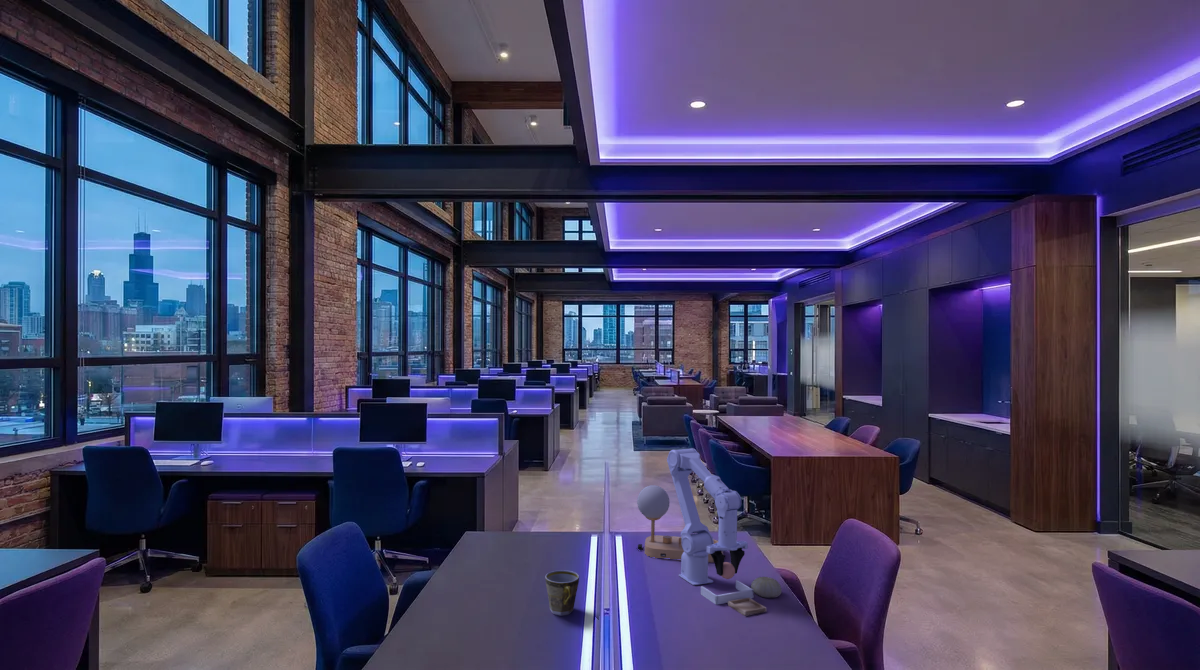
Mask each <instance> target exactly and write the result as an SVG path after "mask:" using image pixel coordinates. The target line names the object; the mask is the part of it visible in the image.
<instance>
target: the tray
mask: <svg viewBox="0 0 1200 670" xmlns="http://www.w3.org/2000/svg"><path fill="white" fill-rule="evenodd" d="M727 607H730V608H732V609H733V610H735V611H736V612H737V613H739V614H741V615H742V616H744V617H748V616H752V615H757V614H762V613H763V614H764V613H767V607H766V606H765V605H763V604H761V603H760V602H757V601H756V600H754V598H744V599H738V600H733V601H728V603H727Z"/></svg>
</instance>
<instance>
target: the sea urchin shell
mask: <svg viewBox="0 0 1200 670" xmlns="http://www.w3.org/2000/svg"><path fill="white" fill-rule="evenodd" d="M750 588H752V589H753V590H754V594H756V595H757V596H758V597H760V598H764V599H765V598H768V599H769V598H771V599H772V598H777V597H779V596H780V595H781V594H782V585H781V584H780V582H779V581H777V580H776V579H775V578H773V577H768V576H759V577H756V578H755V579H753V581H752V582H751V584H750Z"/></svg>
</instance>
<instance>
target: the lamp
mask: <svg viewBox="0 0 1200 670" xmlns="http://www.w3.org/2000/svg"><path fill="white" fill-rule="evenodd" d="M636 500H637V501H636V504H637V508H638V510H639V512H640V513H641V515H643V516H644V517H645V519H646V520H648V521H650V525H651V527H650V529H651V530H650V535H649V536H646V538H645V541H644V546H643V544H641V543H640V544H639V543H638V545H637V548H638V549H639V550H640V551H641V549H642V550H643V548H644V555H645V554H646V555H647V556H646V555H645V556H646V557H648V556H650V557H649V558H651V557H655V558H654V559H656V558H670V559H681V557H682V554H683V552H684V550H683V548H682V538H681V536H674V535H673V536H672V535H657V534H656V535H655V532H656V529H655V528H656V527H655V525H656V524H655V523H656V521H658V520H660V519H662V517H663V516H665V515H666V513H667V512H668V511H669V508H670V501H671V500H670V498H669V495H668V493H667V491H666V490H665V489H664V488H662V487H661V486H659V485H654V484H652V485H648V486H645V487H644V488H643V489H641V490H640V492H639V493H638V495H637V499H636ZM713 541H714V544H715V543H718V539H714V538H713ZM638 549H637V550H638ZM721 553H722V554H723V555H724V551H722V552H721ZM708 563H714V561H713V558H712V556H711V554H708Z"/></svg>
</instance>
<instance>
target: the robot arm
mask: <svg viewBox="0 0 1200 670" xmlns="http://www.w3.org/2000/svg"><path fill="white" fill-rule="evenodd" d="M666 461H667V466H668V470H669V473H670V476H671V478H672V483H673V485H674V491H675V492H676V497H677V501H678V504H679V507H680V511H681V515H682V517H683V518H682V519H683V521H684V528H683V529H682V531H680V537H681V538H682V548H683V550H684V552H683V554H682V557H681V560H680V561H681V562H680V573H678V577H680V579H681V578H682V580H684V581H686V582H688V583H689V584H690V585H692V586H700V585H706V584H712V583H714V580H713V579H711V578H709V562H708V554H711V556H712V558H713V561H714V562H713V563H714V566H715V571H716V574H717V575H718V576H719V577H722V575H723V564H724V562H725V559H726V555H724V553H723V554H722V553H721V552H722V551H723V552H728V551H729V557H730V563H731V564H732V565H733V566H734V568H735V574H737V573H738V570H739V566H740V563H741V561H742V559H743V558H744V556H745V550H748V544H749V543H748V542H747V541H745V540H739V541H738V540H737V539H738V538H737V537H738V536H737V535H738V510H739V509H740V508H741V506H742V498H741V495H740V494H739V493H738V491H737V490H732V489H730V488H729V487H728V486H727V485H726V484H725V483H724V482H723V481H722V480H721V477H720V476H719V475H713V474H712V473H711V472H710V470H709V469H708V468H707V467H706V465H705V464H704V462H702V459H701V454H700V453H699V452H698V451H697V449H695V448H694V447H690V448H683V449H682V448H681V449H671V450H670V451H669V452H668V455H667V458H666ZM692 472H693V473H694V474H695V475H696V476H697V477H699V479H700V480H701V481H702V482H703V487H704V489H705V491H707V492H708V493H709V495H710V496H711V497H712V498H713V500H714V505H715V507H716V510H717V516H718V532H717V533H718V534H717V535H718V538H717V540H718V543H715V544H714V541H713V539H714V538H713V536H712V534H711V532H710V530H709V527H708V526H707V525H705V524H704V523H702V522H701V519H700V515H699V512H698V509H697V505H696V502H695V497H694V495H693V492H692V488H691V484H690V481H689V476H690V474H692ZM743 549H744V550H743ZM735 574H734V575H735Z"/></svg>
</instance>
